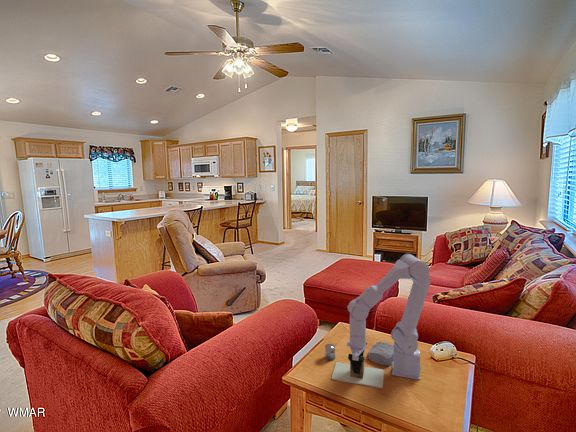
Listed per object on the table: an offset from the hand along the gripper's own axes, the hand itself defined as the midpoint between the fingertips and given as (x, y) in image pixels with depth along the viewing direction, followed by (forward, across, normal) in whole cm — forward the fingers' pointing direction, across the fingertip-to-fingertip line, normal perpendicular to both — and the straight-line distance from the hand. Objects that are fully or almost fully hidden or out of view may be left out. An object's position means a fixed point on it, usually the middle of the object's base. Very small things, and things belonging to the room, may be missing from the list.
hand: (357, 367), depth 118 cm
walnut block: (+3, 0, 0) cm, 3 cm away
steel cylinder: (+3, -8, -12) cm, 15 cm away
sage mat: (+3, 0, 0) cm, 3 cm away
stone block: (+4, -15, +8) cm, 17 cm away
